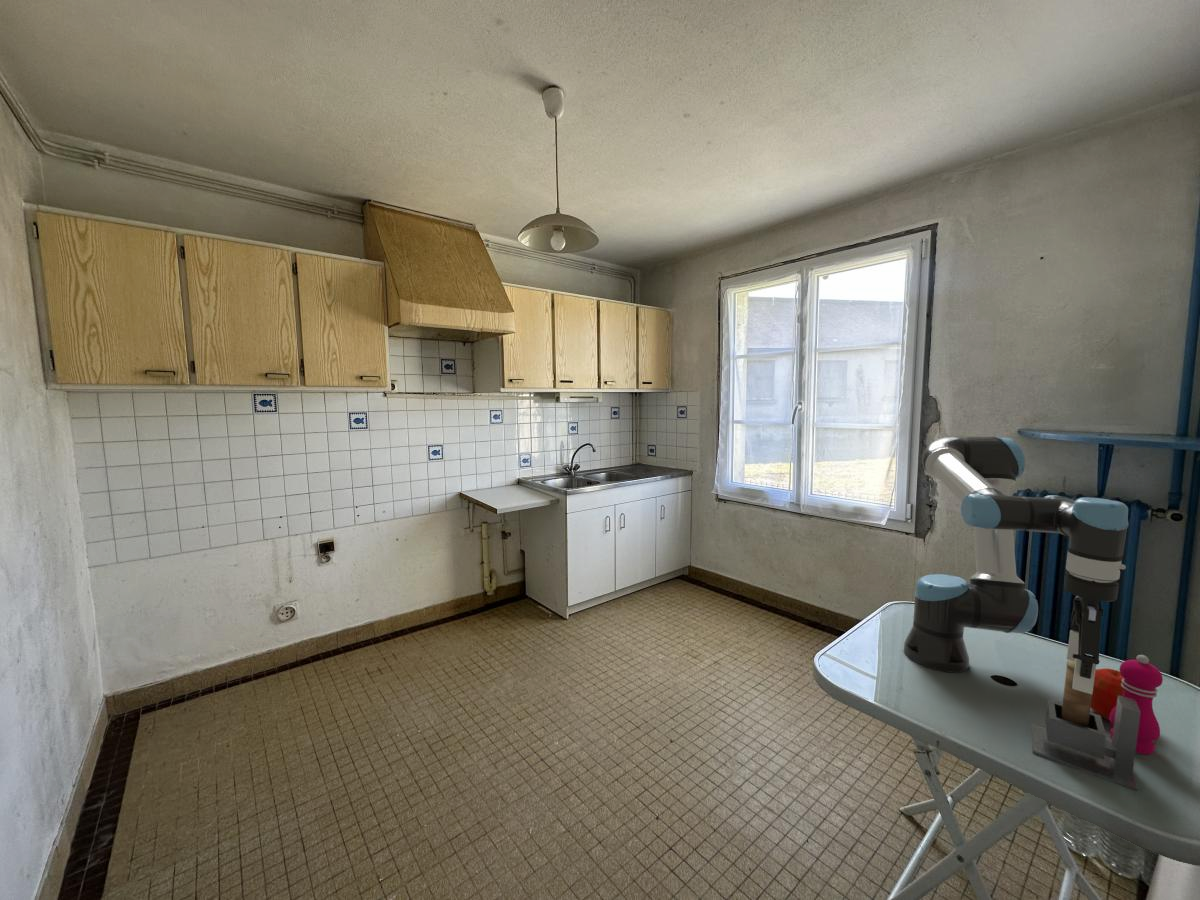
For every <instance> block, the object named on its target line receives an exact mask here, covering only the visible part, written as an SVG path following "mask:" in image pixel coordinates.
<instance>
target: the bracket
mask: <svg viewBox="0 0 1200 900" xmlns="http://www.w3.org/2000/svg"><path fill="white" fill-rule="evenodd" d="M1062 705H1063V703H1060V702H1057V701H1054V700H1050V699H1047V703H1046V713H1045V714H1046V715H1045V727H1043V726H1040V725H1037V724H1035V723H1031V738H1032V742H1031V743H1032V753H1033V754H1035V755H1038V756H1040V757H1043V758H1045V759H1049V760H1051V761H1054V762H1057V763H1060V764H1063V765H1064V766H1067V767H1069V768H1073V769H1076V770H1079V771H1081V772H1084V773H1087V774H1090V775H1093V776H1095V777H1097V778H1100V779H1104V780H1106V781H1109V782H1112V783H1115V784H1118V785H1120V786H1123V787H1126V788H1129V789H1131V790H1134V791H1138V786H1137V783H1136V780H1135V776H1134V765H1135V757H1136V752H1135V751H1136V744H1137V736H1138V729H1139V721H1140V713H1141V712H1140V710H1139V707H1138V705H1137V702H1136V700H1134V699H1130V698H1127V697H1123V696H1119V695H1118V698H1117V706H1116V714H1115V722H1114V730H1113V738H1112V739H1111V742H1110V741H1108V740H1107V734H1106V731H1105V730H1106V729H1105V727H1104V723H1103V719H1102V716H1101V715H1099V714H1097V713H1094V712H1091V711H1090V716H1089V725H1088V727H1085V726H1082V725H1078V724H1075V723H1072V722H1069V721H1066V720H1063V719H1061V714H1062Z"/></svg>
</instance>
